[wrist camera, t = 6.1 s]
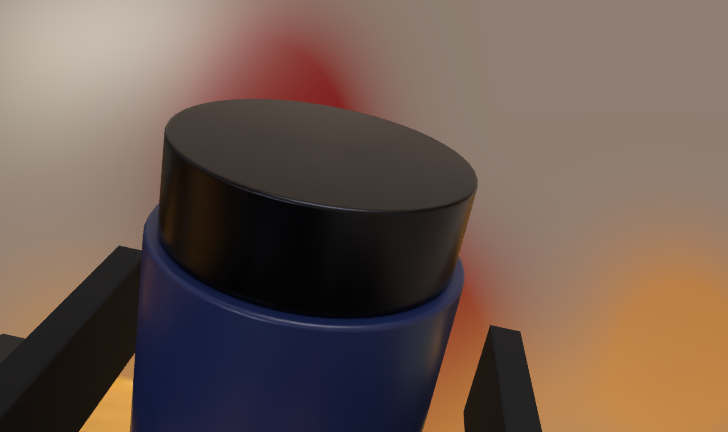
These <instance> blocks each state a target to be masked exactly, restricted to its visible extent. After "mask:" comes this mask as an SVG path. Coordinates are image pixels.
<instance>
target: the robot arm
mask: <svg viewBox="0 0 728 432" xmlns="http://www.w3.org/2000/svg"><path fill="white" fill-rule="evenodd" d="M141 258H142V250H137V249H132V248H128V247H123V246H118V247H117V248H116V249H115V250H114V251H113V252H112V253H111V254H110V255H109V256H108V257H107V258H106V259H105V260H104V261H103V262H102V263H101V264H100V265H99V266H98V267H97V268H96V269H95V270H94V271H93V272H92V273H91V274H90V275H89V276H88V277H87V278H86V279H85V280H84V281H83V282H82V283H81V284H80V285H79V286H78V287H77V288H76V289H75V290H74V291H73V292H72V293H71V294H70V295H69V296H68V297H67V298H66V299H65V300H64V301H63V302H62V303H61V304H60V305H59V306H58V307H57V308H56V309H55V310H54V311H53V312H52V313H51V314H50V315H49V316H48V317H47V318H46V319H45V320H44V321H43V322H42V323H41V324H40V325H39V326H38V327H37V328H36V329H35V330H34V331H33V332H32V333H31V334H30V335H29V336H28V337H27V338H26V339H24V338H20V337H15V336H11V335H6V334H2V335H0V432H79V431H80V429H81V428H82V426H83V425H84V424H85V422H86V421H87V419H88V418H89V417H90V415H91V414H92V412H93V411H94V410H95V408H96V407H97V405H98V404H99V402H100V401H101V400H102V398H103V397H104V395H105V394H106V393H107V391H108V390H109V388H110V387H111V386H112V384H113V383H114V381H115V380H116V379H117V377H118V376H119V374H120V373H121V372H122V370H123V369H124V367H125V366H126V365H127V363H128V362H129V360H130V359H131V358H132V356H133V355H134V353H135V349H136V334H137V318H138V303H139V288H140V273H141ZM464 427H465V432H542V429H541V424H540V420H539V415H538V411H537V406H536V402H535V397H534V393H533V388H532V383H531V379H530V374H529V369H528V365H527V361H526V356H525V352H524V346H523V342H522V337H521V333H520V331H515V330H511V329H506V328H501V327H497V326H492V325H490V328H489V331H488V334H487V337H486V341H485V344H484V347H483V351H482V354H481V357H480V360H479V363H478V367H477V370H476V373H475V376H474V379H473V383H472V386H471V389H470V393H469V396H468V399H467V402H466V405H465V409H464Z"/></svg>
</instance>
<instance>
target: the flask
mask: <svg viewBox="0 0 728 432" xmlns="http://www.w3.org/2000/svg"><path fill="white" fill-rule="evenodd" d="M477 181H478V180H477V176H476V174H475V171H474V169H473V168H472V167H471V165H470V164H469V163H468V162H467V161H466V160H465V159H464V158H463V157H462V156H460V155H459V154H458V153H457V152H455V151H454V150H452V149H451V148H449V147H447V146H446V145H444V144H443V143H441V142H439V141H437V140H435V139H433V138H431V137H429V136H427V135H425V134H423V133H420V132H418V131H416V130H413V129H411V128H408V127H406V126H403V125H399V124H397V123H394V122H391V121H388V120H385V119H381V118H378V117H375V116H370V115H367V114H363V113H359V112H355V111H350V110H346V109H341V108H336V107H330V106H325V105H319V104H313V103H305V102H297V101H286V100H271V99H235V100H224V101H216V102H209V103H204V104H200V105H196V106H193V107H190V108H187V109H184V110H183V111H181V112H179V113H177V114H175V115H174V116H173V117H172V118H171V119H170V120H169V122H168V123H167V125H166V127H165V133H164V147H163V160H162V173H161V186H160V200H159V204H158V205H157V206H156V207H155V208H154V210H153V211H152V212H151V213H150V215H149V216H148V219H147V221H146V223H145V225H144V231H143V232H144V233H143V243H142V258H141V273H140V288H139V303H138V318H137V334H136V349H135V364H134V379H133V394H132V409H131V425H130V432H422V431H423V428H424V424H425V421H426V417H427V413H428V410H429V406H430V403H431V399H432V396H433V392H434V389H435V385H436V382H437V378H438V374H439V371H440V367H441V364H442V360H443V357H444V353H445V350H446V346H447V342H448V339H449V336H450V332H451V329H452V325H453V321H454V318H455V314H456V311H457V307H458V304H459V300H460V297H461V293H462V290H463V286H464V275H465V274H464V269H463V265H462V261H461V259H460V257H459V253H460V249H461V245H462V242H463V238H464V234H465V231H466V227H467V223H468V220H469V216H470V212H471V209H472V205H473V201H474V198H475V194H476V190H477V183H478V182H477Z"/></svg>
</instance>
